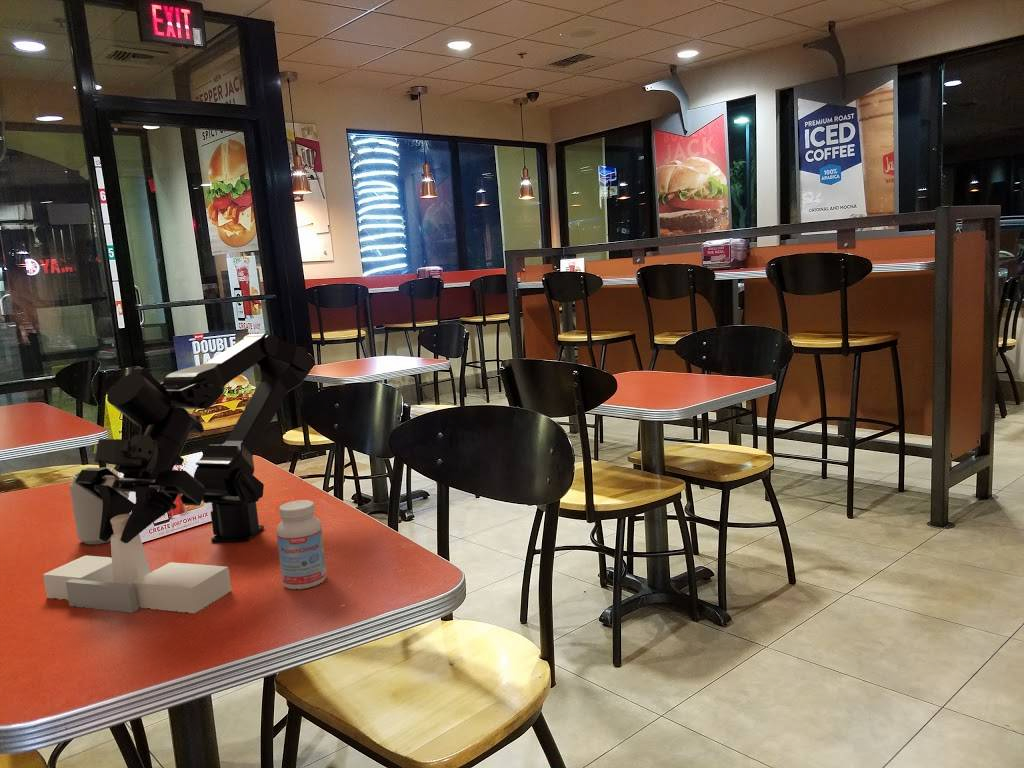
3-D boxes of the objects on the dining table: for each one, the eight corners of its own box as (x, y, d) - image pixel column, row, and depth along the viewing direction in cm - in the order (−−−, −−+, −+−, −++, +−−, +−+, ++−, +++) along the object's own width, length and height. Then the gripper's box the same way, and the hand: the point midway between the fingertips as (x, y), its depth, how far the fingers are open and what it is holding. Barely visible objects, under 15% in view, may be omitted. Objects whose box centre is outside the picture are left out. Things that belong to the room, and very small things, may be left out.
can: (91, 549, 126) (79, 479, 124) (71, 541, 131) (59, 474, 129) (135, 534, 132) (125, 468, 130) (115, 528, 137) (104, 463, 135)
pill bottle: (282, 594, 103) (272, 514, 101) (283, 577, 108) (274, 501, 107) (328, 586, 104) (319, 507, 102) (326, 570, 110) (318, 495, 108)
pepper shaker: (122, 602, 103) (108, 526, 101) (106, 592, 107) (93, 519, 105) (161, 587, 107) (149, 514, 105) (145, 578, 111) (133, 507, 109)
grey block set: (231, 590, 105) (228, 566, 104) (186, 618, 97) (183, 593, 96) (88, 577, 113) (85, 555, 113) (37, 602, 106) (33, 578, 105)
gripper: (76, 413, 109) (17, 511, 101) (179, 413, 103) (126, 518, 95) (127, 453, 118) (77, 546, 109) (225, 455, 112) (180, 554, 103)
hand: (112, 541), depth 104 cm, fingers closed on pepper shaker, 3 cm apart
